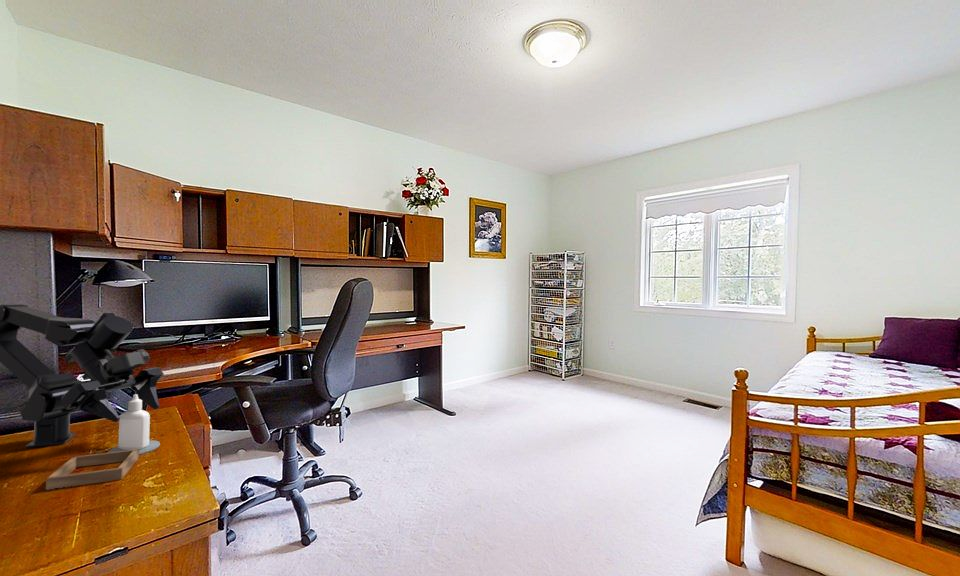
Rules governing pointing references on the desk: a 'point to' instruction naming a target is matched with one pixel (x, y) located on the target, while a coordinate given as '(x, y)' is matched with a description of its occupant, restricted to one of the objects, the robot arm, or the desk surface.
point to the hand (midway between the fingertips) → (138, 414)
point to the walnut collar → (67, 480)
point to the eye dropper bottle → (134, 426)
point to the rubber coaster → (149, 448)
